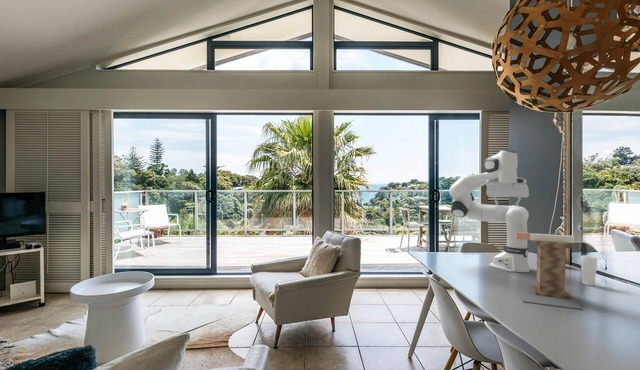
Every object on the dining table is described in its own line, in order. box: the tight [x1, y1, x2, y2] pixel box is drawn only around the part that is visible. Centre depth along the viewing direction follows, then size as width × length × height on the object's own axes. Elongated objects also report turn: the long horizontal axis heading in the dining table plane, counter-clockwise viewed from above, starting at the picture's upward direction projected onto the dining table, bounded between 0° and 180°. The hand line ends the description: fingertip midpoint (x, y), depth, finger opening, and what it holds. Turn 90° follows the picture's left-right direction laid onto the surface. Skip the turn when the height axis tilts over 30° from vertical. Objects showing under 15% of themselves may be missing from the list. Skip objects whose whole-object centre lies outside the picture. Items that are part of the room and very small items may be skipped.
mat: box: [519, 293, 583, 311], centre depth 153 cm, size 22×11×1 cm, turn 66°
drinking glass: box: [580, 254, 598, 287], centre depth 178 cm, size 7×7×15 cm
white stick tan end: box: [515, 232, 575, 244], centre depth 164 cm, size 24×3×3 cm, turn 66°
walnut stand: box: [530, 240, 573, 300], centre depth 164 cm, size 14×12×26 cm
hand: (506, 204), depth 181 cm, fingers open, 8 cm apart
